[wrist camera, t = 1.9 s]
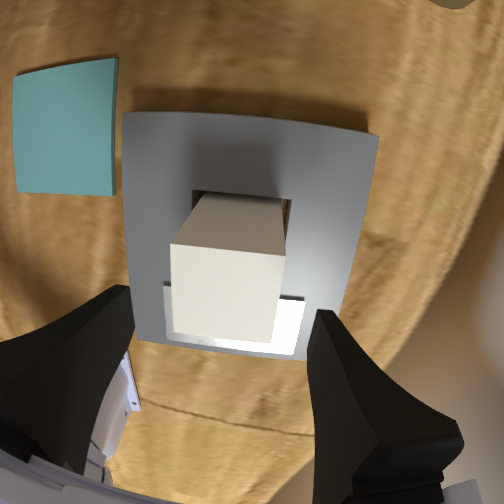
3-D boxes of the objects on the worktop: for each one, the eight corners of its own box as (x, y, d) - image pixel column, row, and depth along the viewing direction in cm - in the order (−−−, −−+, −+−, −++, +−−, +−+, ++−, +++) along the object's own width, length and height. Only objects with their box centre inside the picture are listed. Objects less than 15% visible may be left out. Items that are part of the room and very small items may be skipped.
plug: (271, 261, 21) (271, 344, 14) (204, 254, 22) (173, 332, 14) (280, 196, 19) (286, 256, 12) (207, 189, 20) (170, 243, 12)
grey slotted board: (320, 343, 24) (324, 364, 22) (145, 323, 25) (136, 341, 22) (368, 132, 17) (381, 136, 15) (136, 111, 17) (120, 113, 15)
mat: (115, 194, 20) (112, 196, 19) (21, 190, 20) (17, 192, 20) (118, 58, 16) (115, 58, 15) (17, 76, 16) (13, 76, 16)
